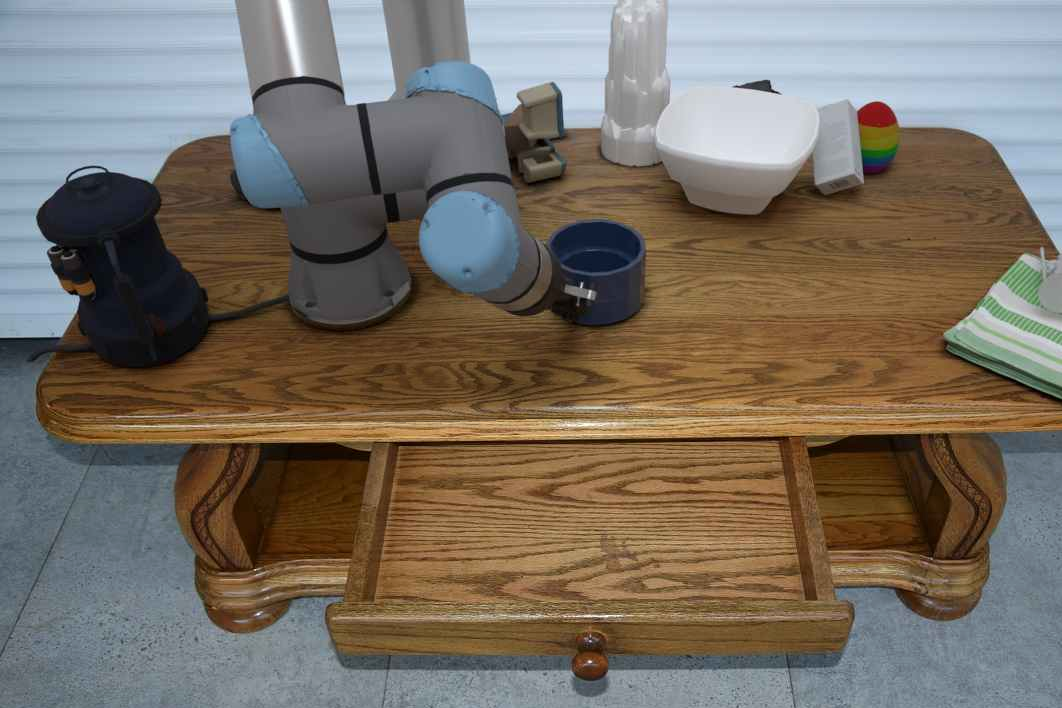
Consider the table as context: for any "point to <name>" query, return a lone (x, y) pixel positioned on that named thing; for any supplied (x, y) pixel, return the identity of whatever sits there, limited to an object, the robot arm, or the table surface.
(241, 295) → the table surface
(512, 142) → the wooden block
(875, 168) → the decorative egg
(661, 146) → the bowl
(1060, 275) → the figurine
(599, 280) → the glazed bowl
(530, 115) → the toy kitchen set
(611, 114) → the decorative vase
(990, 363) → the dish towel
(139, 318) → the dark blue bag
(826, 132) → the cosmetic box
